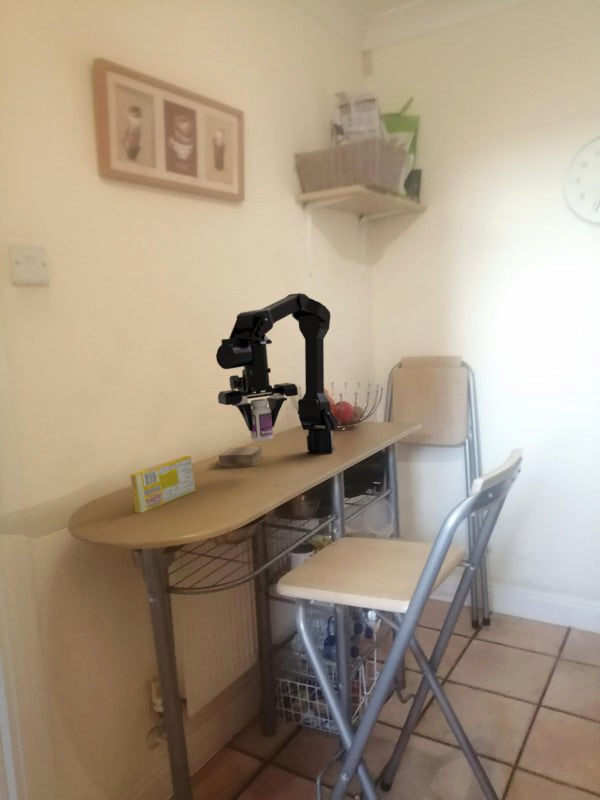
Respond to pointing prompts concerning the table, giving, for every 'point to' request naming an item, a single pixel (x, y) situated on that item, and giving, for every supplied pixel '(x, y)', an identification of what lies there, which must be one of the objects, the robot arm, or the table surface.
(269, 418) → the pill bottle
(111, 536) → the table surface
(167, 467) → the candy box
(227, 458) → the tan flat square block
